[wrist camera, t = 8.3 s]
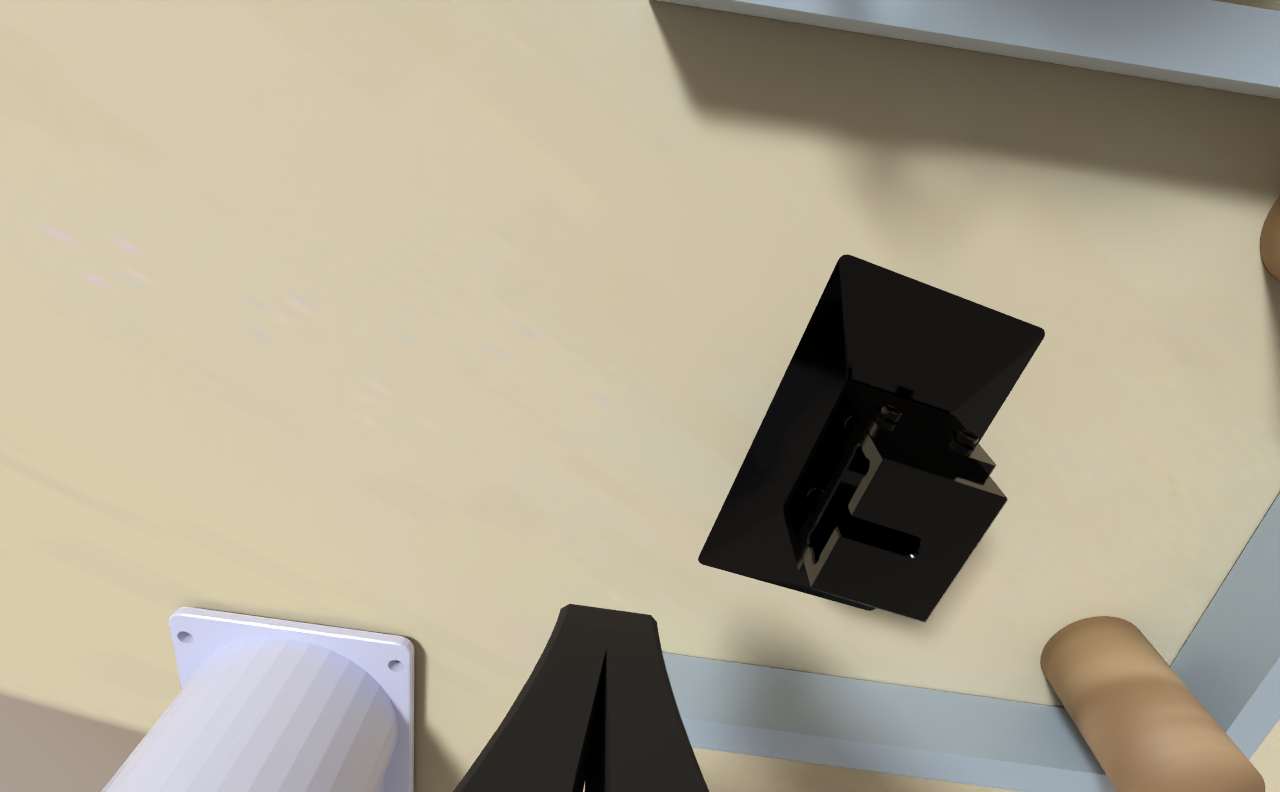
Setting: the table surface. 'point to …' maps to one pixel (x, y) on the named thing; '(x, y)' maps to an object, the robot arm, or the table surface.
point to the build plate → (876, 446)
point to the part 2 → (1271, 241)
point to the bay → (1248, 598)
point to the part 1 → (1141, 713)
